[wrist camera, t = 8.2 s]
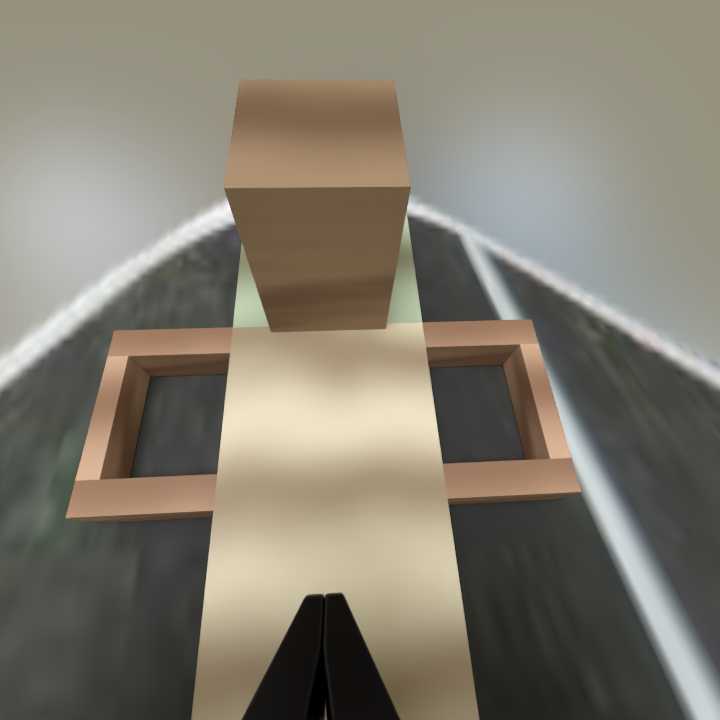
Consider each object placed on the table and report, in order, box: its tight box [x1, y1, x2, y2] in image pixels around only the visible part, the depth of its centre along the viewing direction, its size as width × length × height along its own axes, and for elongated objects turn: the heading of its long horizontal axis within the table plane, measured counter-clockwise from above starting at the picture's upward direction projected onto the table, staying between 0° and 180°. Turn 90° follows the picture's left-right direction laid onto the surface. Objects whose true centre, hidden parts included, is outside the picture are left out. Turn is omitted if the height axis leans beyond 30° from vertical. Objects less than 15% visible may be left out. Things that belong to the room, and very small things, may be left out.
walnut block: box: [224, 80, 411, 332], centre depth 18 cm, size 6×6×9 cm
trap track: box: [66, 214, 581, 720], centre depth 20 cm, size 26×22×2 cm
